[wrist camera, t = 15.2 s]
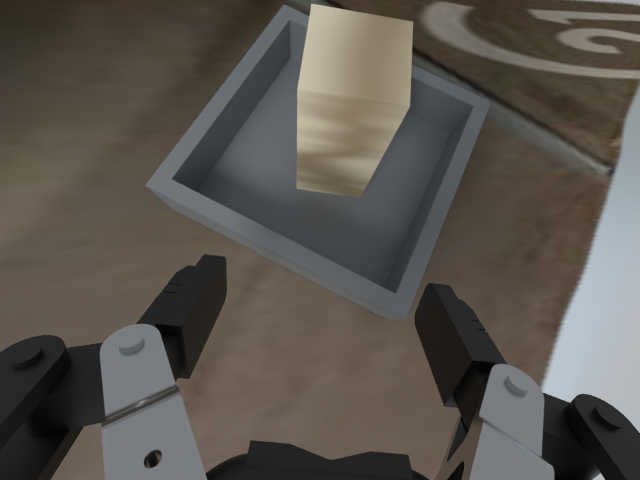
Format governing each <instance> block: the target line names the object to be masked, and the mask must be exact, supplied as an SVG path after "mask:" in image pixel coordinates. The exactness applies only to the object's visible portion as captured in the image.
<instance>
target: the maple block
mask: <svg viewBox="0 0 640 480" xmlns="http://www.w3.org/2000/svg"><path fill="white" fill-rule="evenodd" d="M412 37H413V22H412V21H406V20H400V19H395V18H389V17H384V16H378V15H372V14H367V13H361V12H355V11H350V10H344V9H338V8H333V7H327V6H321V5H316V4H312V5H311V11H310V17H309V23H308V28H307V34H306V40H305V46H304V52H303V58H302V64H301V70H300V76H299V82H298V88H297V187H296V189H301V190H308V191H315V192H322V193H329V194H336V195H343V196H350V197H357V198H360V197H361V195H362V194H363V192H364V190H365V188H366V186H367V184H368V183H369V181H370V179H371V177H372V175H373V173H374V172H375V170H376V168H377V166H378V164H379V162H380V161H381V159H382V157H383V155H384V153H385V151H386V150H387V148H388V146H389V144H390V142H391V141H392V139H393V137H394V135H395V133H396V131H397V130H398V128H399V126H400V124H401V122H402V120H403V119H404V117H405V115H406V113H407V111H408V109H409V108H410V94H411V66H412Z"/></svg>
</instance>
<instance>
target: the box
mask: <svg viewBox="0 0 640 480" xmlns="http://www.w3.org/2000/svg"><path fill="white" fill-rule="evenodd" d="M309 17H310V16H308V15H306V14H304V13H301V12H299V11H297V10H295V9H293V8H291V7H289V6H287V5H283V6H282V8H281V9H280V10H279V12H278V13H277V14H276V15H275V17H274V18H273V19H272V21H271V22H270V23H269V25H268V26H267V27H266V28H265V30H264V31H263V32H262V34H261V35H260V36H259V38H258V39H257V40H256V42H255V43H254V44H253V45H252V47H251V48H250V49H249V51H248V52H247V53H246V55H245V56H244V57H243V58H242V60H241V61H240V62H239V64H238V65H237V66H236V68H235V69H234V70H233V72H232V73H231V74H230V75H229V77H228V78H227V79H226V81H225V82H224V83H223V85H222V86H221V87H220V89H219V90H218V91H217V92H216V94H215V95H214V96H213V98H212V99H211V100H210V102H209V103H208V104H207V105H206V107H205V108H204V109H203V111H202V112H201V113H200V115H199V116H198V117H197V119H196V120H195V121H194V122H193V124H192V125H191V126H190V128H189V129H188V130H187V132H186V133H185V134H184V135H183V137H182V138H181V139H180V141H179V142H178V143H177V145H176V146H175V147H174V149H173V150H172V151H171V152H170V154H169V155H168V156H167V158H166V159H165V160H164V162H163V163H162V164H161V165H160V167H159V168H158V169H157V171H156V172H155V173H154V175H153V176H152V177H151V179H150V180H149V181H148V182H147V184H146V185H145V186H146V187H148V188H149V189H150V190H151V191H152V192H153V193H154V194H156V195H157V196H158V197H159V198H160V199H161V200H162V201H164V202H165V203H166V204H167V205H168V206H169V207H170V208H172V209H173V210H174V211H176V212H178V213H180V214H182V215H184V216H186V217H188V218H190V219H192V220H194V221H195V222H197V223H199V224H201V225H203V226H205V227H207V228H209V229H211V230H213V231H215V232H217V233H219V234H221V235H223V236H224V237H226V238H228V239H230V240H232V241H234V242H236V243H238V244H240V245H242V246H244V247H246V248H248V249H250V250H252V251H254V252H255V253H257V254H259V255H261V256H263V257H265V258H267V259H269V260H271V261H273V262H275V263H277V264H279V265H281V266H283V267H285V268H286V269H288V270H290V271H292V272H294V273H296V274H298V275H300V276H302V277H304V278H306V279H308V280H310V281H312V282H314V283H315V284H317V285H319V286H321V287H323V288H325V289H327V290H329V291H331V292H333V293H335V294H337V295H339V296H341V297H343V298H345V299H346V300H348V301H350V302H352V303H354V304H356V305H358V306H360V307H362V308H364V309H366V310H368V311H370V312H372V313H374V314H375V315H377V316H379V317H381V318H383V319H402V320H406V318H407V315H408V313H409V310H410V308H411V305H412V303H413V300H414V298H415V295H416V293H417V290H418V287H419V285H420V282H421V280H422V277H423V275H424V272H425V270H426V267H427V265H428V262H429V259H430V257H431V254H432V252H433V249H434V247H435V244H436V242H437V239H438V237H439V234H440V231H441V229H442V226H443V224H444V221H445V219H446V216H447V214H448V211H449V209H450V206H451V204H452V201H453V198H454V196H455V193H456V191H457V188H458V186H459V183H460V181H461V178H462V176H463V173H464V170H465V168H466V165H467V163H468V160H469V158H470V155H471V153H472V150H473V148H474V145H475V143H476V140H477V137H478V135H479V132H480V130H481V127H482V125H483V122H484V120H485V117H486V115H487V112H488V109H489V107H490V104H491V101H489V100H487V99H484V98H482V97H480V96H478V95H476V94H474V93H472V92H470V91H467V90H465V89H463V88H461V87H459V86H457V85H455V84H453V83H450V82H448V81H446V80H444V79H442V78H440V77H438V76H436V75H433V74H431V73H429V72H427V71H425V70H423V69H421V68H418V67H416V66H414V65H412V66H411V94H410V108H409V109H408V111H407V113H406V115H405V117H404V119H403V120H402V122H401V124H400V126H399V128H398V130H397V131H396V133H395V135H394V137H393V139H392V141H391V142H390V144H389V146H388V148H387V150H386V151H385V153H384V155H383V157H382V159H381V161H380V162H379V164H378V166H377V168H376V170H375V172H374V173H373V175H372V177H371V179H370V181H369V183H368V184H367V186H366V188H365V190H364V192H363V194H362V195H361V197H360V198H357V197H350V196H343V195H336V194H329V193H322V192H315V191H308V190H301V189H296V187H297V88H298V82H299V76H300V70H301V64H302V58H303V52H304V46H305V40H306V34H307V28H308V23H309Z"/></svg>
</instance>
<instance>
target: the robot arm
mask: <svg viewBox="0 0 640 480" xmlns="http://www.w3.org/2000/svg"><path fill="white" fill-rule="evenodd" d="M226 292H227V276H226V258H225V257H223V256H215V255H207V254H204V255H203V256H202V258H201V259H200V260H199V262H198V263H197V265H196V266H186V267H185V268H183V269H181V270H180V271H178V272H177V273H175V275H174V276H173V277H172V279H171V280H170V281H169V282H168V285H166V286H165V288H164V289H163V290H162V293H160V294H159V295H158V297H157V298H156V299H155V300H154V302H153V303H152V304H151V306H150V307H149V308H148V309H147V311H146V312H145V313H144V315H143V316H142V317H141V318H140V320H139V321H138V322H137V323H136V324H135V325H130V326H127V327H124V328H122V329H120V330H118V331H116V332H114V333H113V334H112V335H110V336H109V337H108V338H107V339H106V340H105V341H104V342H103V343H98V344H91V345H84V346H77V347H70V348H66V346H65V344H64V342H63V340H62V339H61V338H59V337H57V336H52V335H42V336H36V337H31V338H28V339H25V340H22V341H20V342H17V343H15V344H13V345H11V346H10V347H8V348H6V349H5V350H3V351H2V352H0V480H50V479H51V478H52V476H53V474H54V473H55V471H56V470H57V468H58V467H59V465H60V463H61V462H62V460H63V459H64V457H65V456H66V454H67V452H68V451H69V449H70V448H71V446H72V445H73V443H74V441H75V440H76V438H77V437H78V435H79V434H80V432H81V430H82V429H83V427H84V426H87V425H92V424H96V423H101V422H102V425H101V432H102V446H103V459H104V471H105V480H429V479H428V478H426V477H425V476H423V475H421V474H420V473H418V472H416V471H414V470H412V469H411V465H410V460H409V456H408V455H403V454H392V453H382V452H371V451H370V452H366V453H361V454H357V455H353V456H348V457H344V458H340V459H335V460H329V459H326V458H323V457H321V456H318V455H316V454H314V453H311V452H309V451H306V450H304V449H301V448H299V447H296V446H294V445H291V444H285V443H274V442H263V441H252V440H251V441H250V446H249V450H248V453H246V454H242V455H238V456H236V457H233V458H230V459H228V460H226V461H224V462H222V463H220V464H219V465H217V466H216V467H214V468H213V469H211V470H210V471H208V472H207V473H206V474H205V471H204V467H203V464H202V461H201V458H200V455H199V451H198V448H197V445H196V442H195V439H194V435H193V432H192V429H191V426H190V422H189V419H188V416H187V413H186V410H185V406H184V403H183V400H182V397H181V394H180V391H179V388H178V387H177V386H176V384H175V382H176V380H177V378H185V379H189V378H190V376H191V374H192V372H193V370H194V368H195V365H196V363H197V361H198V359H199V357H200V354H201V352H202V350H203V348H204V346H205V344H206V341H207V339H208V337H209V335H210V333H211V330H212V328H213V326H214V324H215V322H216V320H217V317H218V315H219V313H220V311H221V309H222V306H223V304H224V302H225V298H226ZM415 326H416V329H417V332H418V335H419V338H420V340H421V343H422V346H423V349H424V352H425V354H426V357H427V360H428V363H429V365H430V368H431V371H432V374H433V376H434V379H435V382H436V385H437V387H438V390H439V393H440V396H441V399H442V401H443V404H444V406H447V407H456V408H458V409H459V411H460V416H459V417H458V419H457V421H456V424H455V427H454V430H453V433H452V436H451V439H450V442H449V445H448V448H447V451H446V453H445V456H444V459H443V462H442V465H441V468H440V470H439V472H438V474H437V476H436V478H435V480H593V478H595V477H596V476H597V475H599V474H600V473H601V474H602V475H603V477H604V478H605V480H640V433H639V432H638V431H637V429H636V428H635V427H634V426H633V425H632V423H631V422H630V421H629V420H628V419H627V418H626V417H625V416H624V415H623V414H622V413H620V412H619V411H618V410H617V409H615V408H614V407H613V406H611V405H610V404H608V403H606V402H605V401H603V400H601V399H599V398H597V397H595V396H592V395H588V394H580V395H577V396H576V397H575V398H574V399H573V400H572V402H570V403H569V402H566V401H564V400H561V399H558V398H556V397H553V396H550V395H548V394H545V393H543V392H542V391H541V389H540V388H539V386H538V385H537V384H536V382H535V381H534V380H533V379H532V378H530V377H529V376H528V375H527V374H525V373H524V372H522V371H521V370H519V369H517V368H515V367H513V366H510V365H508V364H507V363H506V361H505V360H504V358H503V357H502V355H501V353H500V352H499V350H498V349H497V347H496V346H495V344H494V342H493V341H492V339H491V338H490V336H489V335H488V333H487V332H485V328H484V327H483V325H482V324H481V323H480V322H479V319H478V317H477V316H476V314H475V313H474V311H473V310H472V309H471V308H470V307H469V306H468V305H467V304H466V303H465V302H464V301H462V300H460V299H458V298H457V296H456V295H455V293H454V291H453V290H452V288H451V287H450V286H449V285H442V284H434V283H429V284H428V285H427V286H426V288H425V290H424V293H423V295H422V298H421V300H420V302H419V305H418V307H417V310H416V313H415Z"/></svg>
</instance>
